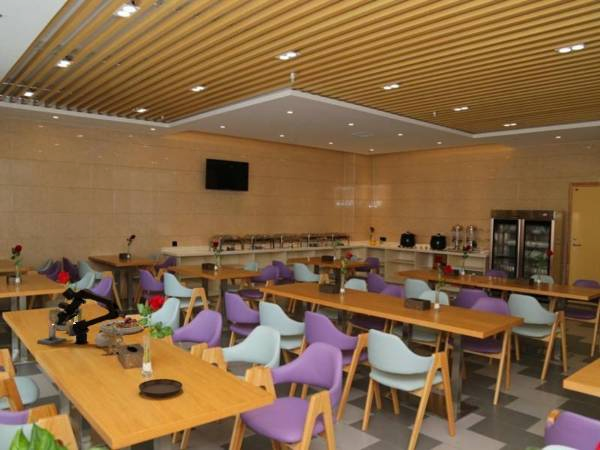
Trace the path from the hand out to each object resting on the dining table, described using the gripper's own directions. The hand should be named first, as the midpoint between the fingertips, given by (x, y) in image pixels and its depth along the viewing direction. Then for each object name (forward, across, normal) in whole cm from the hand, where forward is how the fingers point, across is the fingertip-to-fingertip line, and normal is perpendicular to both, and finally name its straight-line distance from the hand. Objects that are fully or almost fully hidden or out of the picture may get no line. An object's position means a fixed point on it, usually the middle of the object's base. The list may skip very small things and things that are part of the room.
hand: (61, 323), depth 330 cm
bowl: (-3, -38, +28) cm, 47 cm away
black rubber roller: (+11, -18, +6) cm, 22 cm away
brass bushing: (+15, -23, +2) cm, 28 cm away
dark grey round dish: (+12, +3, +3) cm, 13 cm away
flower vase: (-12, +13, +37) cm, 41 cm away
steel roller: (+12, +3, +3) cm, 13 cm away
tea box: (+20, -37, -4) cm, 42 cm away
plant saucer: (-47, +80, +82) cm, 123 cm away
